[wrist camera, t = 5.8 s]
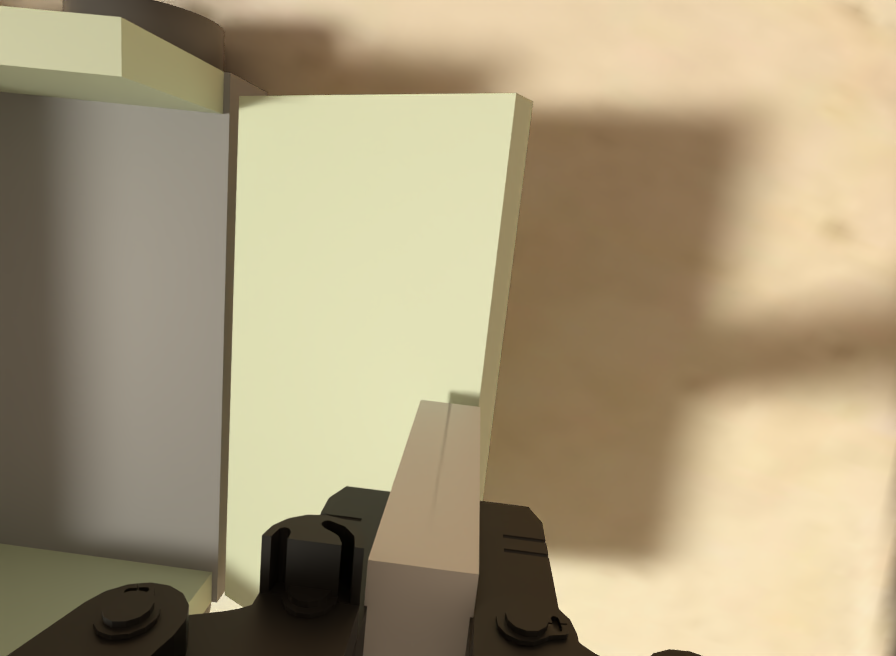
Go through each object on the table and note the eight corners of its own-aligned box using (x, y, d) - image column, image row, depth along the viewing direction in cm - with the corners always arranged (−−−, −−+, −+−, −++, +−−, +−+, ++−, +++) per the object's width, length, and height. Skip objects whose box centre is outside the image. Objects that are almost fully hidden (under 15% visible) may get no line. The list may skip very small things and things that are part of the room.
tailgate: (239, 95, 17) (516, 92, 12) (272, 104, 18) (539, 105, 14) (224, 595, 20) (439, 734, 16) (253, 577, 21) (462, 704, 17)
